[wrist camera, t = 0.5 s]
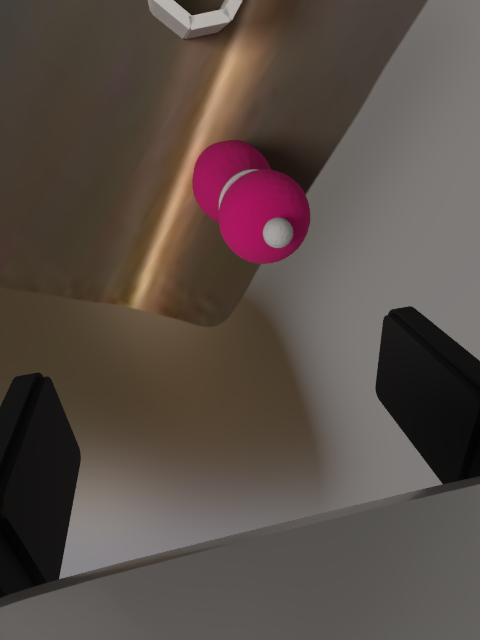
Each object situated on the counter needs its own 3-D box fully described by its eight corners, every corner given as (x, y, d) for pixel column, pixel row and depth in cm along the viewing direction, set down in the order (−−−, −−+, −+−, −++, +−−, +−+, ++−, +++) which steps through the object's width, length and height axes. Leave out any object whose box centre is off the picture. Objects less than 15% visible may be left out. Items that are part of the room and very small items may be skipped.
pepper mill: (176, 152, 38) (199, 201, 21) (247, 123, 38) (327, 149, 21) (204, 222, 42) (243, 312, 25) (268, 196, 42) (352, 267, 25)
